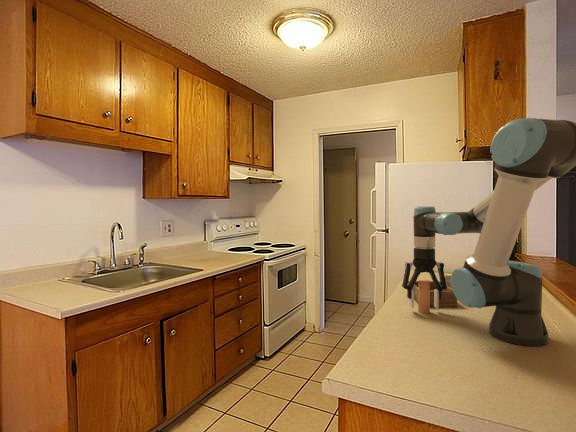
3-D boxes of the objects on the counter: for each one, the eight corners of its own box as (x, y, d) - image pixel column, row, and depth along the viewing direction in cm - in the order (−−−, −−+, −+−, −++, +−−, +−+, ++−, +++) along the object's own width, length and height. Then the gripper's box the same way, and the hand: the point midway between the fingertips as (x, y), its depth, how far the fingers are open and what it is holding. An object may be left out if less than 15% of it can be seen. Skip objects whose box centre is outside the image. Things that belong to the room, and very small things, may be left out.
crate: (457, 306, 133) (457, 291, 133) (420, 306, 134) (420, 291, 134) (440, 294, 151) (440, 281, 151) (408, 294, 152) (408, 281, 152)
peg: (431, 314, 125) (431, 282, 125) (420, 313, 125) (420, 282, 125) (427, 310, 129) (427, 279, 129) (417, 310, 129) (417, 279, 129)
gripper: (449, 246, 129) (448, 304, 130) (393, 246, 131) (393, 303, 132) (457, 248, 122) (457, 310, 123) (398, 248, 123) (398, 310, 124)
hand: (424, 307), depth 127 cm, fingers open, 8 cm apart
